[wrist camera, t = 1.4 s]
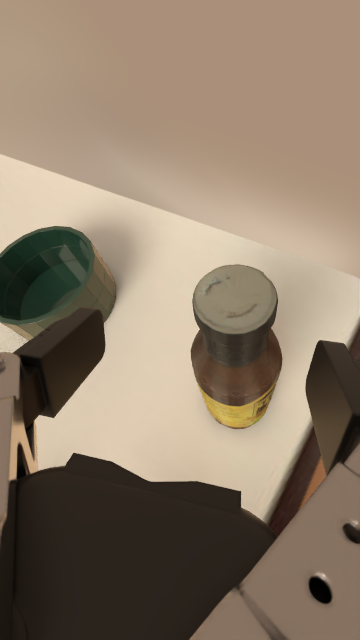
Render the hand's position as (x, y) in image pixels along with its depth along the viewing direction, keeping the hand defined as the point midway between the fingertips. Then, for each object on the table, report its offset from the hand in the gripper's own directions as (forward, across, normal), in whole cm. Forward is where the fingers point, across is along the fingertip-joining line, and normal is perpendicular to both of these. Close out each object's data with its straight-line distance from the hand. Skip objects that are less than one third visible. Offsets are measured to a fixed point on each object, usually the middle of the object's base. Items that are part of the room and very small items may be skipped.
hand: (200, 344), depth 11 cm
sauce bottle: (+15, -3, +16) cm, 22 cm away
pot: (+24, +22, +11) cm, 34 cm away
